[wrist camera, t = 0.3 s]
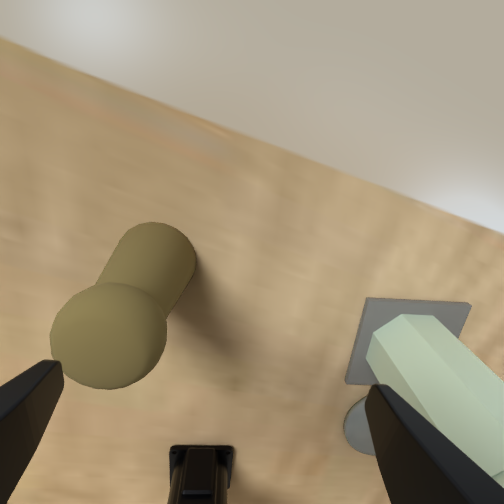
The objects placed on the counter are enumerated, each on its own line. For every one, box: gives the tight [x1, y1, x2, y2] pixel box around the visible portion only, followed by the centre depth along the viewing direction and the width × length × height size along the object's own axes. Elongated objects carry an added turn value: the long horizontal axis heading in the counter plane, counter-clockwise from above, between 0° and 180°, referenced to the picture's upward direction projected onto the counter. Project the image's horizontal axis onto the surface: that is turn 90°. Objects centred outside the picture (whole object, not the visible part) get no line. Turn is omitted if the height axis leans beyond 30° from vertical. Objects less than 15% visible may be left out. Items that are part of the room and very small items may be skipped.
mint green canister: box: [366, 314, 504, 488], centre depth 21 cm, size 7×7×13 cm
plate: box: [344, 396, 375, 455], centre depth 31 cm, size 9×9×1 cm
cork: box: [50, 222, 196, 390], centre depth 18 cm, size 6×6×11 cm
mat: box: [345, 298, 472, 385], centre depth 28 cm, size 9×9×1 cm
